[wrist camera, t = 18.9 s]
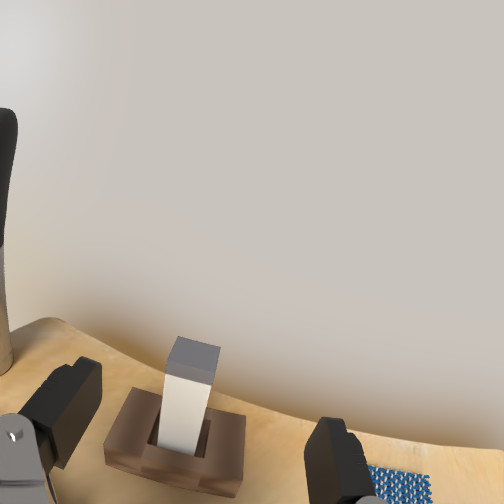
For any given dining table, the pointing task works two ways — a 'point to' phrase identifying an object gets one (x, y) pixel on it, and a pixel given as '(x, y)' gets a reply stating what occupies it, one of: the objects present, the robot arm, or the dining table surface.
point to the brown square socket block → (174, 463)
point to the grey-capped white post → (186, 394)
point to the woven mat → (400, 486)
